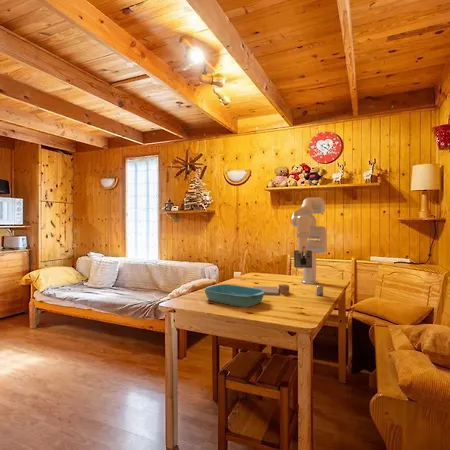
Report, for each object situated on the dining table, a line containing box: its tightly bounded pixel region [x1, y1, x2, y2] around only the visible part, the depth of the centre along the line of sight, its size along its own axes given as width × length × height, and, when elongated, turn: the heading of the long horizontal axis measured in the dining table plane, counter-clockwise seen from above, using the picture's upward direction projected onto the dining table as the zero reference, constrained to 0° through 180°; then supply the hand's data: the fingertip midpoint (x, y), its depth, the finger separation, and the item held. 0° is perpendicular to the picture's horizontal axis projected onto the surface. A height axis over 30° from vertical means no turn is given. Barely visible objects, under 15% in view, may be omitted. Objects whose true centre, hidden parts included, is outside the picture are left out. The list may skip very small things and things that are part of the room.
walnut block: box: [278, 283, 290, 295], centre depth 198 cm, size 5×5×5 cm
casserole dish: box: [203, 283, 265, 308], centre depth 177 cm, size 37×22×7 cm, turn 52°
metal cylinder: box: [316, 284, 324, 297], centre depth 192 cm, size 4×4×6 cm
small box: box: [293, 249, 312, 269], centre depth 197 cm, size 11×6×10 cm, turn 84°
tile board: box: [252, 285, 280, 296], centre depth 202 cm, size 18×16×2 cm
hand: (302, 263), depth 197 cm, fingers closed on small box, 6 cm apart
